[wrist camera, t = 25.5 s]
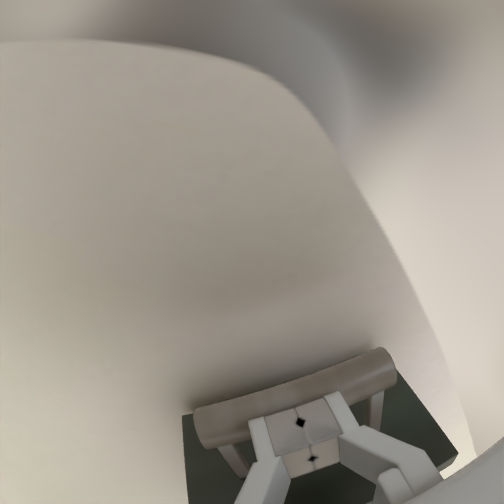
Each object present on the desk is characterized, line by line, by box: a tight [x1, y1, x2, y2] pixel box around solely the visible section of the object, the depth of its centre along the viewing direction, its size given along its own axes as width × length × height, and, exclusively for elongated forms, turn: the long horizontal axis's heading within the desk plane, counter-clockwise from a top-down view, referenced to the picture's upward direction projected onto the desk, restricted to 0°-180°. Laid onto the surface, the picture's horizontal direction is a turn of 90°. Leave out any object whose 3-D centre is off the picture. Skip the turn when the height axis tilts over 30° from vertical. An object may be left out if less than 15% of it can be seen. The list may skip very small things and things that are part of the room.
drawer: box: [182, 347, 458, 504], centre depth 14 cm, size 19×12×8 cm, turn 14°
